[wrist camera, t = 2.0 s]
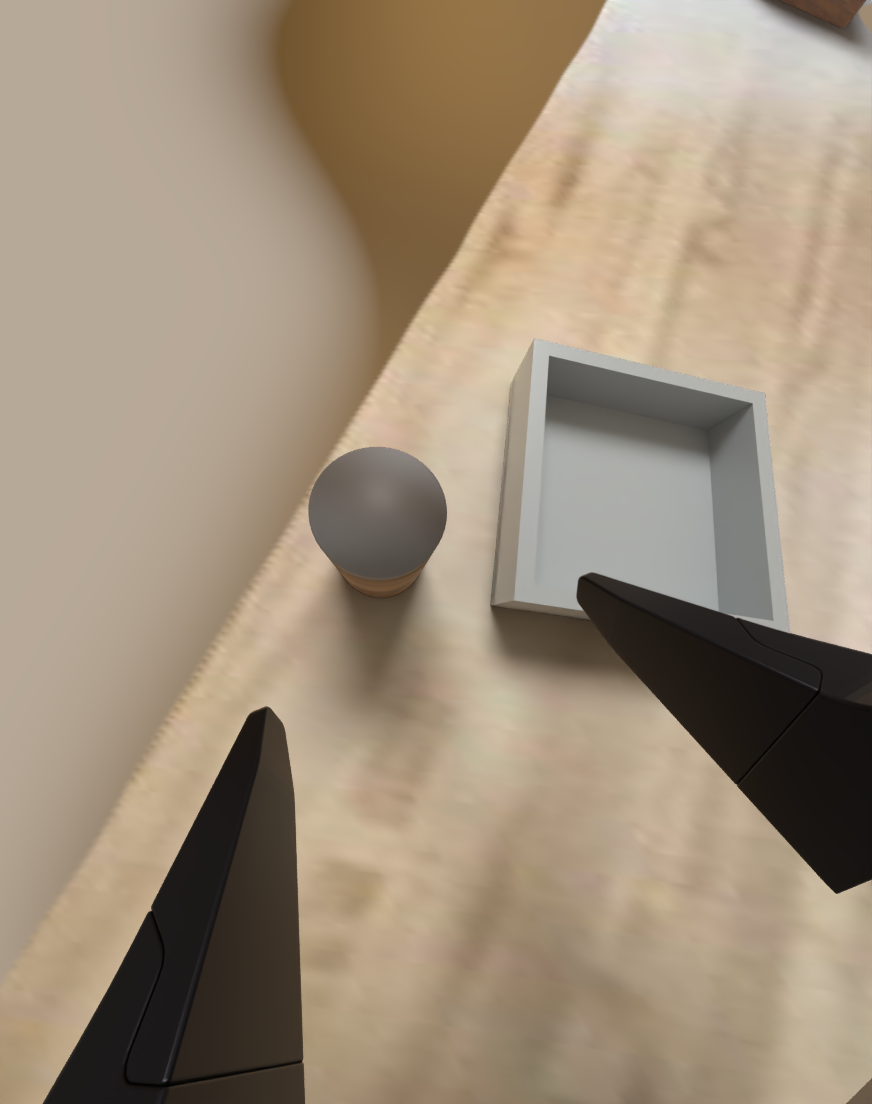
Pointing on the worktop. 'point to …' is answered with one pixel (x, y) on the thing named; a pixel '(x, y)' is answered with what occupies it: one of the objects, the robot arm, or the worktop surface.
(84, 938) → the worktop surface
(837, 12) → the tissue box cover
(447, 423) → the worktop surface
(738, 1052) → the worktop surface
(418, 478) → the spice jar
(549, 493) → the bin
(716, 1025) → the worktop surface
